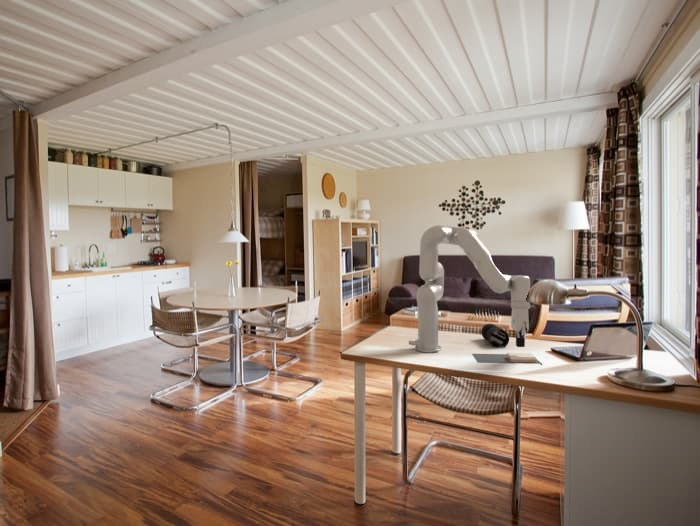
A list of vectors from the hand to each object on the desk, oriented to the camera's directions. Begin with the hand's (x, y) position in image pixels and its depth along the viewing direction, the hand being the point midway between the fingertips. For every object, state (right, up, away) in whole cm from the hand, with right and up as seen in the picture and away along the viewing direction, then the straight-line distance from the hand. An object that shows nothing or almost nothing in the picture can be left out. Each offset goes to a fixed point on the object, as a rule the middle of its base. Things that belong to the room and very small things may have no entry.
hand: (520, 346), depth 176 cm
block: (0, -4, +3) cm, 5 cm away
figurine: (-1, -5, +31) cm, 31 cm away
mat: (-6, -6, +2) cm, 9 cm away
